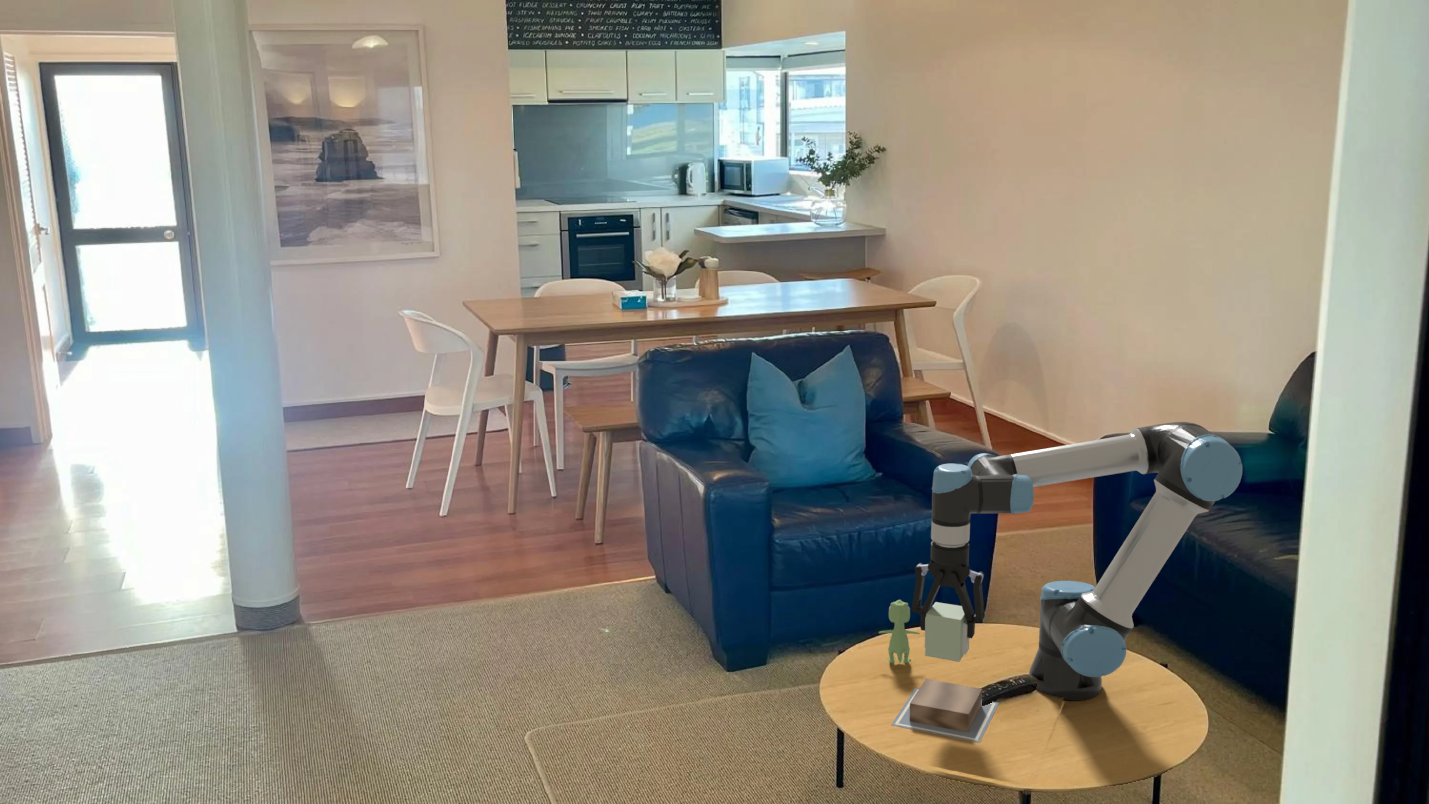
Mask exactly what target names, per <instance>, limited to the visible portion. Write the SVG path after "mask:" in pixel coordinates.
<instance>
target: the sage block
mask: <svg viewBox="0 0 1429 804" xmlns="http://www.w3.org/2000/svg"><path fill="white" fill-rule="evenodd" d="M965 620H966V617H965V614H964V611H963V609H962V606H961V605H958V604H952V603H951V604H950V603H943V602H938V601H935V602H934V604H932V605H931V607H930V610H929V611H928V613H927V614H926V641H925V640H924V656H925V657H928V658H929V657H930V658H936V659H941V660H947V661H951V662H958V663H959V662H961V660H962V658H963V657H964V655H965V654H962V643H963V623H964V622H965Z"/></svg>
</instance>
